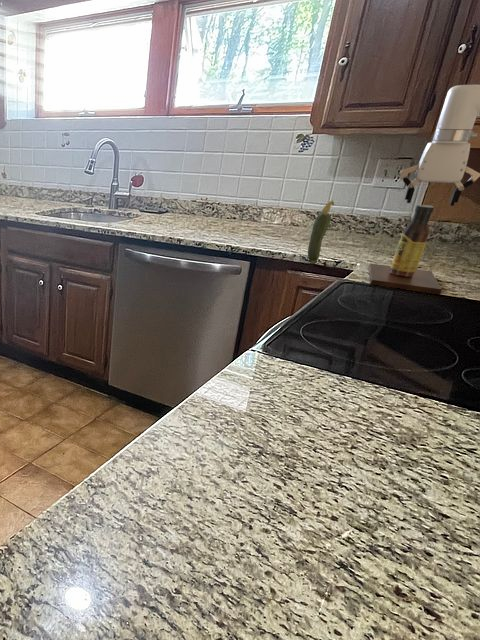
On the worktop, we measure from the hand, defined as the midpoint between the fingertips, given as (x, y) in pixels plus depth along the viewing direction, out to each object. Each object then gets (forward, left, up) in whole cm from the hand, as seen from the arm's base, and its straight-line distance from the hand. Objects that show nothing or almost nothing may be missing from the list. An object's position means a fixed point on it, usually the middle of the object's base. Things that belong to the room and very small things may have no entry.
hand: (429, 203), depth 146 cm
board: (0, 0, -22) cm, 22 cm away
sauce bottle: (+1, 0, -21) cm, 21 cm away
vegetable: (+24, -8, -22) cm, 34 cm away
